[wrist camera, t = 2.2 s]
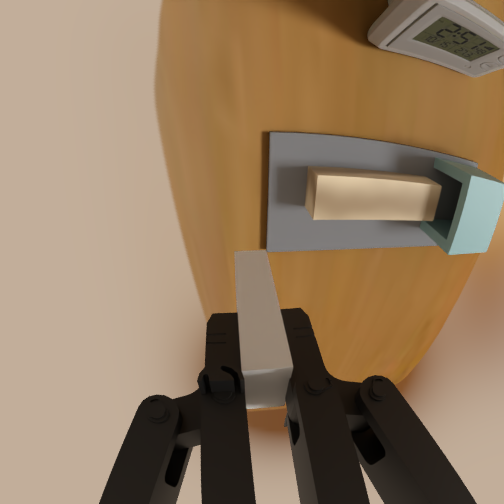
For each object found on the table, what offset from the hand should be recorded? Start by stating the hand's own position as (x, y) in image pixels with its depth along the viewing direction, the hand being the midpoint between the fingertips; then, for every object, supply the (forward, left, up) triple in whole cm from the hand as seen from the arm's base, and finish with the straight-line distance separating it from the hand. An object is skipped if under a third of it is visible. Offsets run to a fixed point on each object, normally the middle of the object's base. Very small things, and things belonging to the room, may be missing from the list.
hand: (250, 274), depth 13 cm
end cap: (0, +25, -13) cm, 28 cm away
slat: (0, +13, -13) cm, 18 cm away
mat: (+1, +16, -13) cm, 21 cm away
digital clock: (-18, +19, -14) cm, 30 cm away
